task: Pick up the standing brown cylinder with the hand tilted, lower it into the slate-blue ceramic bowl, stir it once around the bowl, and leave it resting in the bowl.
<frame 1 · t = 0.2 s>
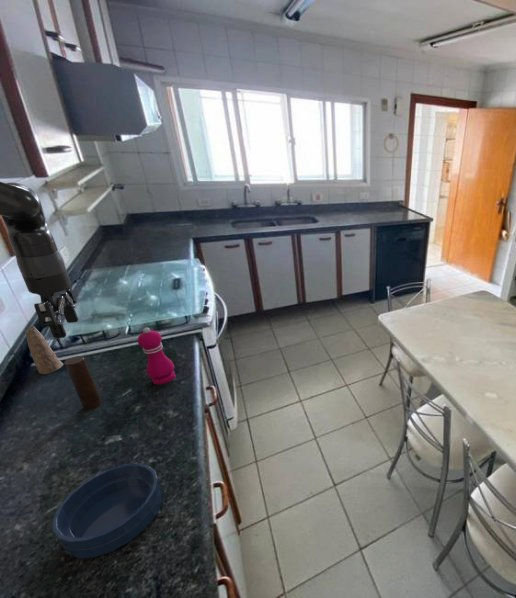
hand: (67, 329, 86), 26 cm above the table, tool pointing down, fingers open, 8 cm apart
bowl: (116, 516, 70), on the table
brown cylinder: (92, 405, 97), on the table
tan tapered cone: (55, 375, 107), on the table
pepper mill: (165, 380, 109), on the table
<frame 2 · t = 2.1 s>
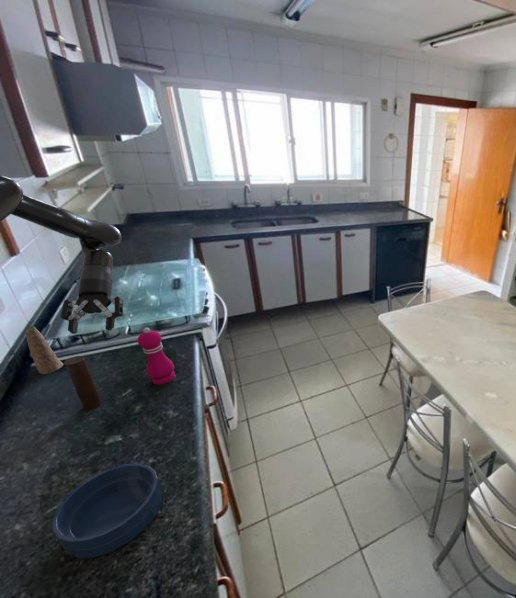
hand: (91, 331, 99), 18 cm above the table, tool tilted 45°, fingers open, 8 cm apart
nothing on the table moved.
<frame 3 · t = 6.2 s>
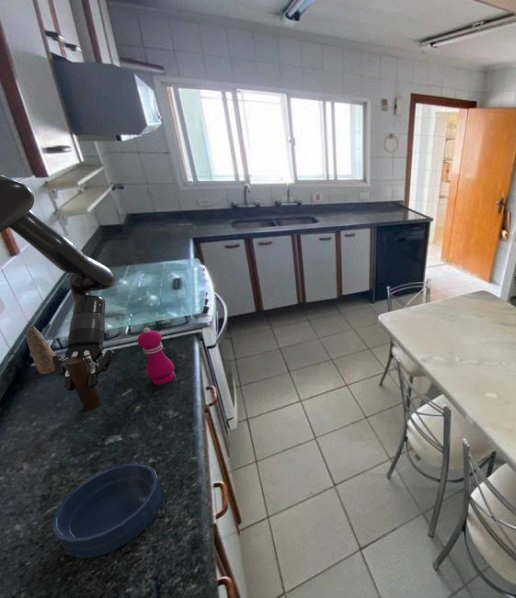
hand: (81, 388, 92), 8 cm above the table, tool tilted 45°, fingers closed on brown cylinder, 4 cm apart
brown cylinder: (92, 404, 97), on the table, touching gripper
everything else where it was.
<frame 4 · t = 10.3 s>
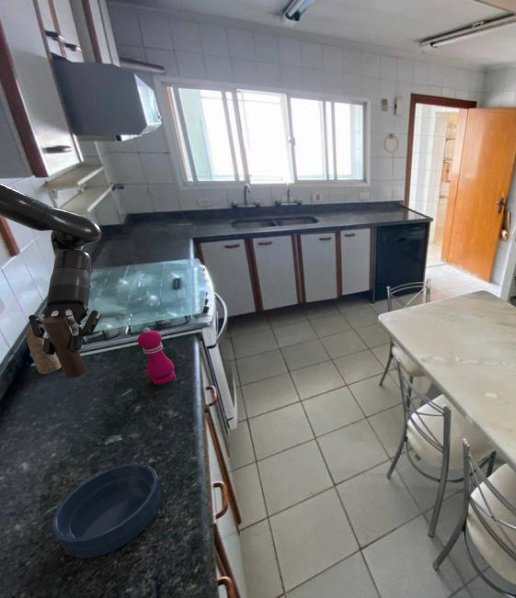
hand: (62, 352, 80), 24 cm above the table, tool tilted 45°, fingers closed on brown cylinder, 4 cm apart
brown cylinder: (76, 373, 85), point 16 cm above the table, touching gripper
everything else where it was.
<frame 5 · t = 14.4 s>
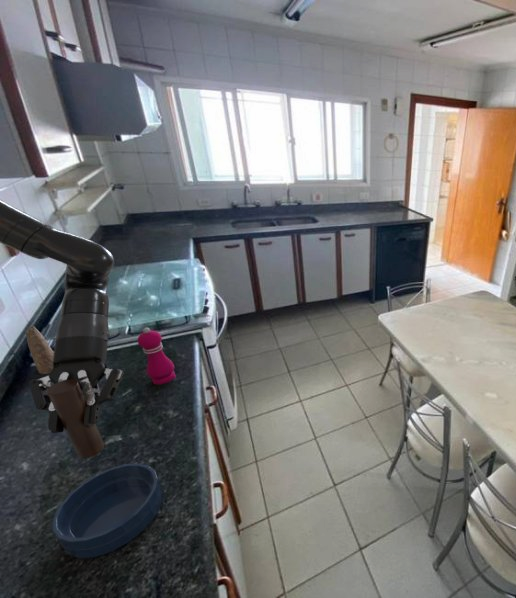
hand: (73, 429, 60), 24 cm above the table, tool tilted 45°, fingers closed on brown cylinder, 4 cm apart
brown cylinder: (91, 450, 65), point 16 cm above the table, touching gripper
everything else where it was.
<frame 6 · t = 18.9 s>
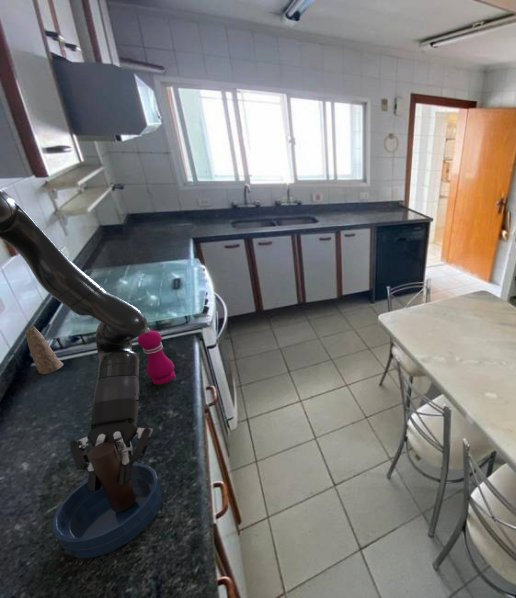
hand: (109, 487, 66), 9 cm above the table, tool tilted 45°, fingers closed on brown cylinder, 4 cm apart
brown cylinder: (124, 502, 70), point 2 cm above the table, touching gripper
everything else where it was.
when the fingers open (8 cm above the table, at t = 22.9 s): brown cylinder stays where it is, resting on bowl.
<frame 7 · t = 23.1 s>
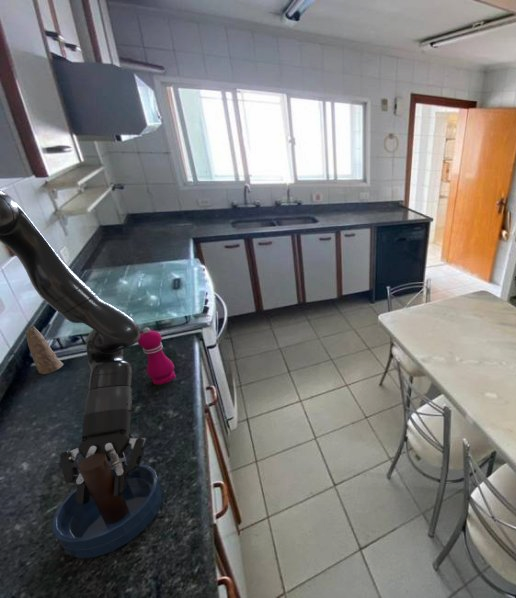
hand: (101, 499, 65), 8 cm above the table, tool tilted 45°, fingers open, 5 cm apart
brown cylinder: (116, 514, 69), point 1 cm above the table, touching bowl
everything else where it was.
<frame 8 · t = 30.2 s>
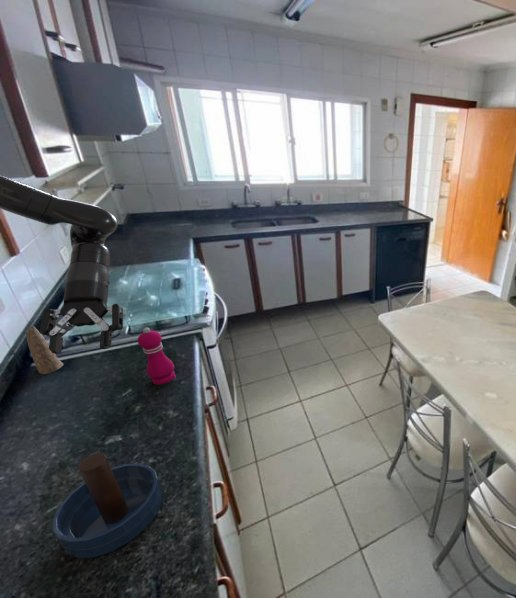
hand: (80, 350, 74), 29 cm above the table, tool tilted 45°, fingers open, 8 cm apart
nothing on the table moved.
at the end: brown cylinder inside the target area in the bowl (0.0 cm from its centre), point 0.6 cm above the bowl's base; the gripper is holding nothing; brown cylinder moved 43.6 cm from its start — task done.
